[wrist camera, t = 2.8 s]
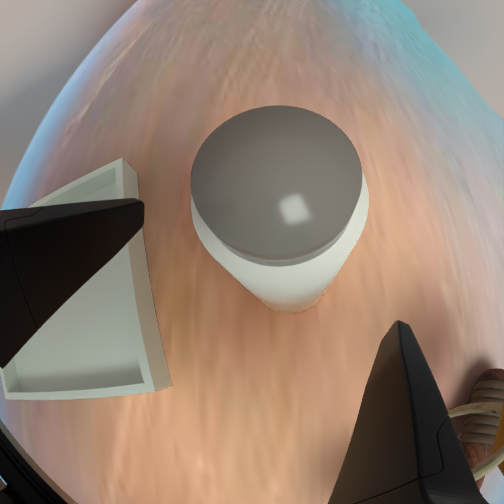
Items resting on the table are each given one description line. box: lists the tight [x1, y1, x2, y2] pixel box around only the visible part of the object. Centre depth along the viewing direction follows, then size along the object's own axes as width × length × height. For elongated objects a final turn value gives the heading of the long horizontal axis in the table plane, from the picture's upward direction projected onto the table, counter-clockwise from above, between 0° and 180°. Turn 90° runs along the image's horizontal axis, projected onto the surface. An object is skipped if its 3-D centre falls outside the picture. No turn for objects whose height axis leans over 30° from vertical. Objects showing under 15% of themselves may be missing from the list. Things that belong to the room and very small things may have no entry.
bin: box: [0, 158, 172, 400], centre depth 19 cm, size 16×16×2 cm
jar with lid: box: [191, 106, 369, 314], centre depth 12 cm, size 5×5×12 cm
